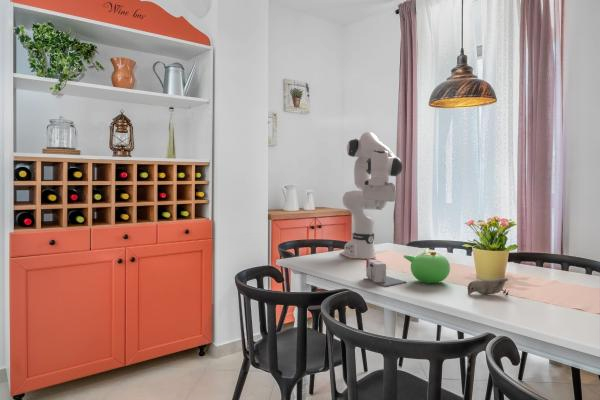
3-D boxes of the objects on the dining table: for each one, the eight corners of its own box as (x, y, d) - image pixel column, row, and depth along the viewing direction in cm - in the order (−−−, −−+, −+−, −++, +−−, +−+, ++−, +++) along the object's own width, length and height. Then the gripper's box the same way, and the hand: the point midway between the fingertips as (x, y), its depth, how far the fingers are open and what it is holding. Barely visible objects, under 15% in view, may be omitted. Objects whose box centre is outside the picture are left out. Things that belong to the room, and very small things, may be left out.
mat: (363, 280, 196) (363, 278, 196) (383, 276, 203) (383, 275, 203) (385, 287, 184) (385, 285, 184) (406, 282, 192) (406, 281, 191)
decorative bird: (465, 292, 178) (466, 275, 177) (505, 294, 176) (506, 276, 176) (469, 296, 172) (470, 278, 172) (510, 297, 171) (511, 279, 171)
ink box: (365, 259, 199) (376, 264, 188) (375, 258, 200) (386, 263, 189) (365, 277, 200) (376, 283, 188) (375, 276, 201) (386, 282, 189)
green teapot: (430, 289, 181) (431, 255, 180) (401, 280, 195) (401, 249, 194) (457, 283, 191) (458, 251, 190) (427, 275, 205) (428, 245, 204)
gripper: (399, 182, 205) (398, 211, 206) (370, 181, 222) (369, 207, 223) (390, 182, 202) (389, 211, 203) (361, 181, 219) (360, 208, 220)
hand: (378, 209), depth 213 cm, fingers closed
